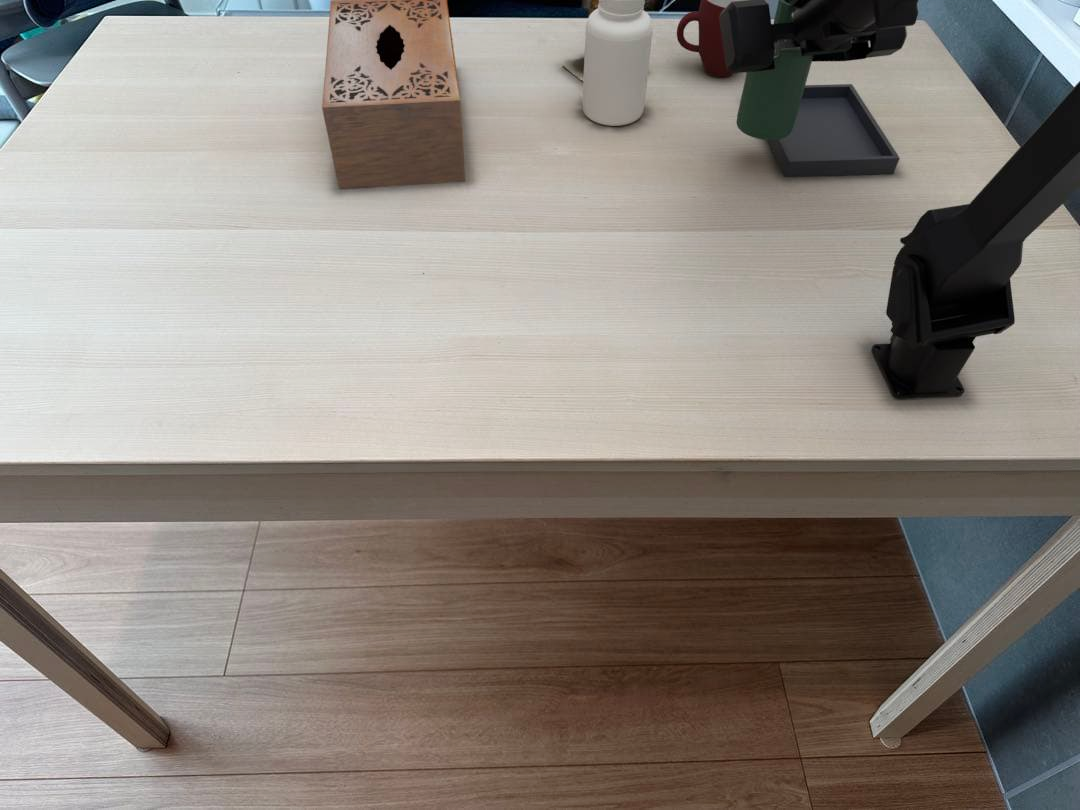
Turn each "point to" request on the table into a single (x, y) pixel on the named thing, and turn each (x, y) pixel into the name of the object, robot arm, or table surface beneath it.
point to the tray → (834, 136)
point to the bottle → (774, 90)
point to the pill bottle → (616, 62)
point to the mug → (707, 36)
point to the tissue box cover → (392, 94)
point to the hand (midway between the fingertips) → (774, 59)
